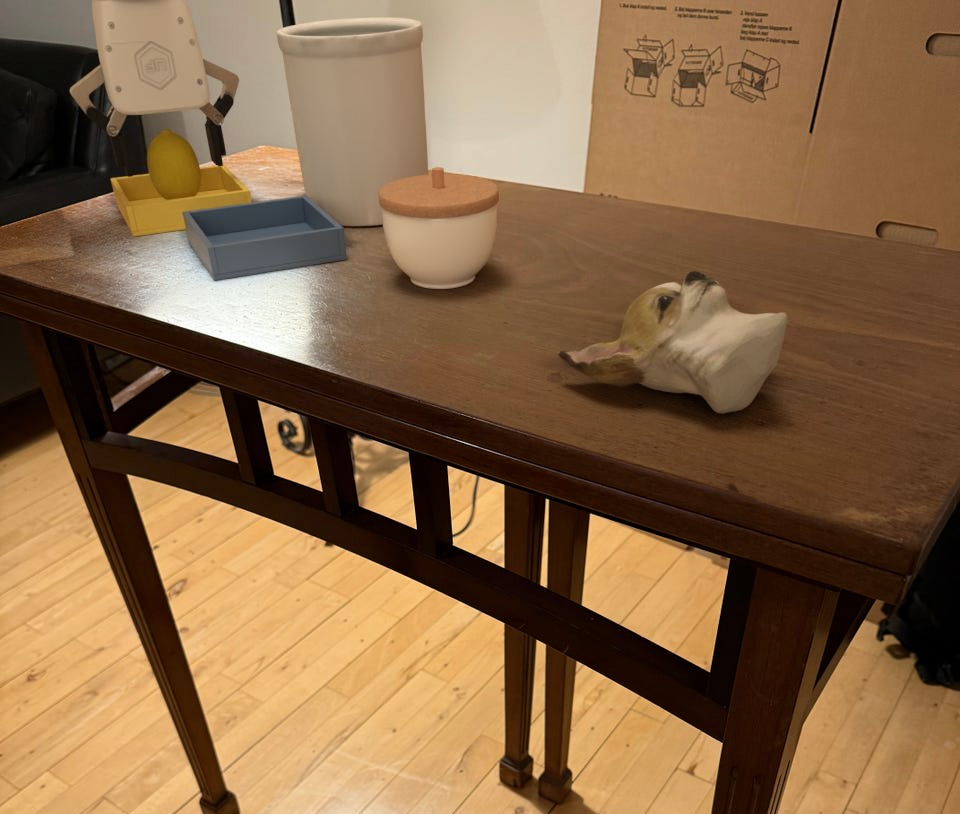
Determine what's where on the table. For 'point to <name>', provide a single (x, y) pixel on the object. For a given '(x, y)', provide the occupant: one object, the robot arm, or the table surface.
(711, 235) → the table surface
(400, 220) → the trinket box
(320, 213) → the blue tray
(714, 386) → the ceramic sculpture
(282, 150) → the table surface
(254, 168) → the table surface
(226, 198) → the yellow tray
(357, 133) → the utensil holder
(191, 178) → the lemon
